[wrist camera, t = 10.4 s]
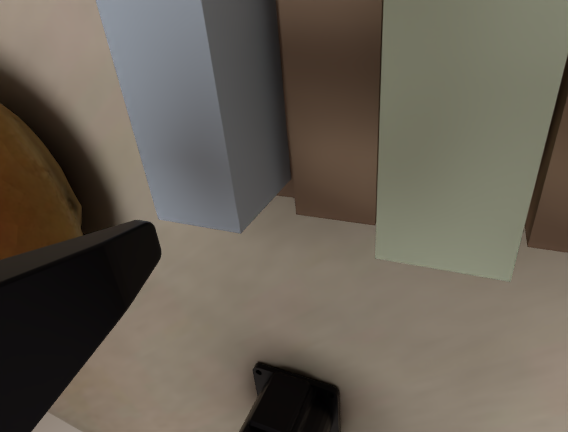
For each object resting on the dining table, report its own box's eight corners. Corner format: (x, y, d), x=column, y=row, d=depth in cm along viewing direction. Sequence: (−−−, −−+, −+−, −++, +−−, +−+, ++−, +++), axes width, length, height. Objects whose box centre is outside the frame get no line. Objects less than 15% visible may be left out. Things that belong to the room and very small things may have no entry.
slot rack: (593, 221, 16) (607, 258, 14) (185, 175, 23) (158, 194, 21) (741, -202, 10) (805, -245, 8) (127, -78, 17) (81, -83, 15)
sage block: (420, -99, 12) (387, -128, 8) (576, -125, 11) (625, -175, 7) (400, 192, 17) (375, 258, 13) (505, 203, 16) (510, 281, 12)
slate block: (291, 179, 19) (240, 233, 15) (220, 171, 21) (158, 219, 17) (268, -76, 14) (185, -92, 10) (177, -61, 16) (75, -69, 12)
